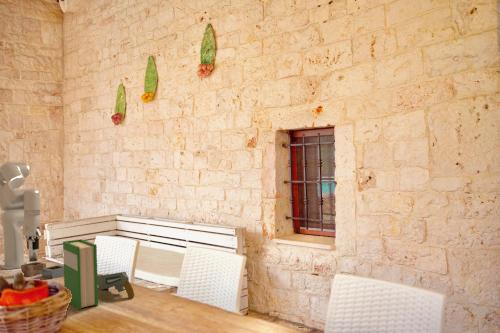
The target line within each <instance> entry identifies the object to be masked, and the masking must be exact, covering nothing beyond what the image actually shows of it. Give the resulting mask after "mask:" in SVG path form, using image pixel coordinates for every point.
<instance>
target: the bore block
mask: <svg viewBox="0 0 500 333" xmlns="http://www.w3.org/2000/svg"><path fill="white" fill-rule="evenodd" d="M43 268H47V263H46V262H41V261H33V262H29V263H28V262H27V264H24V265H21V268H20V269H21V270H20V272H21V271H22V272H23V273H24V275H23V276H26V277H30V278H31V277H35V276H39V275H42V269H43Z"/></svg>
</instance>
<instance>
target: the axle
mask: <svg viewBox="0 0 500 333" xmlns="http://www.w3.org/2000/svg"><path fill="white" fill-rule="evenodd" d="M32 242H33V239H29V249H28V261H29V263H33V262H39V261H38V260H39V259H38V256H39V254H38V249H36V250H33V249H32Z"/></svg>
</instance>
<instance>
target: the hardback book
mask: <svg viewBox="0 0 500 333" xmlns="http://www.w3.org/2000/svg"><path fill="white" fill-rule="evenodd" d="M62 248H63V249H62V251H63V252H62V253H63V256H62V257H63V266H64V276H63V286H64V287H66V288H67V289H69V290H70V291H71V294H72V299H71V302H70V304H69V305H71V306H72V307H74V308H75V309H76V310H78V311H82V308H85V307H89V306H90V307H92V306H95V307H99V287H98V280H97V275H98V258H97V257H98V254H97V251H98V250H97V244H96V243H94V242H91V241H90V242H89V241H87V240H84V239H74V240H67V241H63V242H62ZM64 287H63V288H64Z"/></svg>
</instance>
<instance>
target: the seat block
mask: <svg viewBox="0 0 500 333" xmlns="http://www.w3.org/2000/svg"><path fill="white" fill-rule="evenodd" d="M41 277H42V278H47V279H52V280H53V279H57V278H61V277H64V265H61V264H60V265H59V264H55V265H52V266H46V268H43V269H42V274H41Z"/></svg>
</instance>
